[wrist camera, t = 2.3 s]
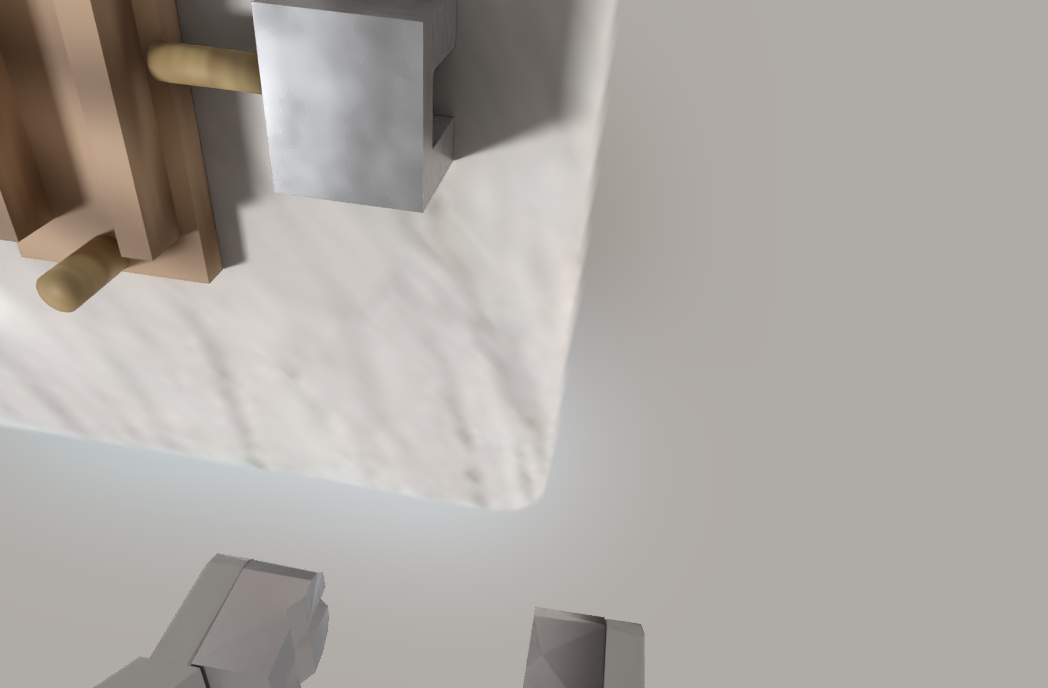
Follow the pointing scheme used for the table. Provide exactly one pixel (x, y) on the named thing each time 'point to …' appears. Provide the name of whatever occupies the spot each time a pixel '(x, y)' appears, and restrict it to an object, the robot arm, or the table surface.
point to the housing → (355, 98)
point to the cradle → (107, 142)
